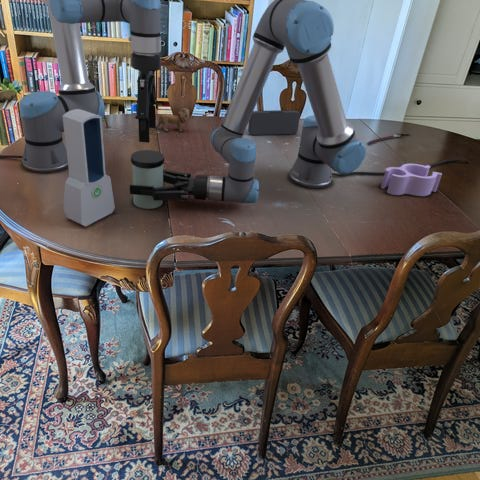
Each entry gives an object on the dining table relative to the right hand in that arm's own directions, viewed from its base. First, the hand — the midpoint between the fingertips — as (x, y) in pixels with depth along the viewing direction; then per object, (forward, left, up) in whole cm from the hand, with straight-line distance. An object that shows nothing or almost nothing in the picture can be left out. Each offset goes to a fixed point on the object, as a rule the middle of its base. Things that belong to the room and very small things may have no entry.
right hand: (132, 182), depth 140 cm
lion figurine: (-32, -56, -6) cm, 65 cm away
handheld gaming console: (-73, -43, -6) cm, 85 cm away
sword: (-125, -25, -6) cm, 127 cm away
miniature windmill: (-1, -63, -6) cm, 64 cm away
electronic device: (+14, +6, -6) cm, 16 cm away
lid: (-4, +2, +8) cm, 10 cm away
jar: (-4, +2, -6) cm, 8 cm away
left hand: (-4, +2, +15) cm, 16 cm away
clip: (-96, +18, -6) cm, 98 cm away
